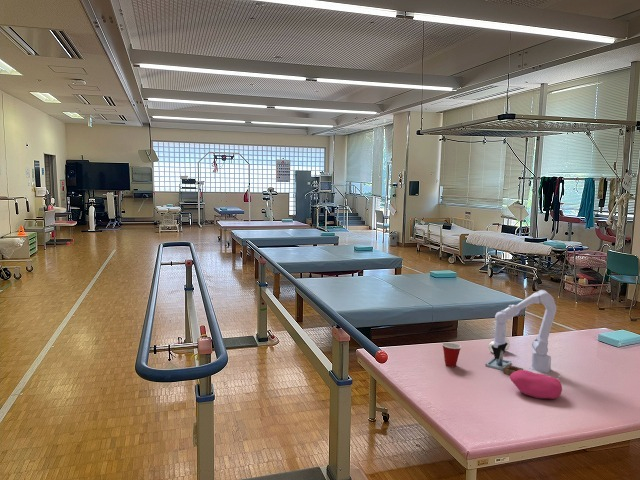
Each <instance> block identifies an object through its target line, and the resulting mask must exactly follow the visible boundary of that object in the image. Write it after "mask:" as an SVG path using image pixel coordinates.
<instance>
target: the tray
mask: <svg viewBox="0 0 640 480" xmlns="http://www.w3.org/2000/svg"><path fill="white" fill-rule="evenodd" d="M507 365H512V360H511V361H510V360H506V359H503V365H502V366H498V365H496V359H495V357H492V358H491V359H490V360H488V362H486V363H485V367H488V368H492V369H496V370H498V371H499V370H500V371H503V370H504V368H505V367H506V366H507Z"/></svg>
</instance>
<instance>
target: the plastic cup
mask: <svg viewBox="0 0 640 480" xmlns="http://www.w3.org/2000/svg"><path fill="white" fill-rule="evenodd" d="M441 345H442V350H443V358H444V363H445V366H446V367H449V368H454V367H456V366H457V363H458V360H459V359H458V358H459V355H460V351H461V349H462V345H461V344H458V343H455V342H443V343H441Z"/></svg>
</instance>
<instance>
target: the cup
mask: <svg viewBox="0 0 640 480" xmlns="http://www.w3.org/2000/svg"><path fill="white" fill-rule="evenodd" d="M505 341H506V343H508V344H507V346H506V348H505V351H508V350H509V349H510V347H511V342H510V340H509V339H508V337H506V340H505ZM492 345H494V341H492V340H491V342H490V343H488V346H487V348H488V350H489V352H490V353H493V354H494V352H493V349H492V347H491V346H492Z"/></svg>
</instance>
